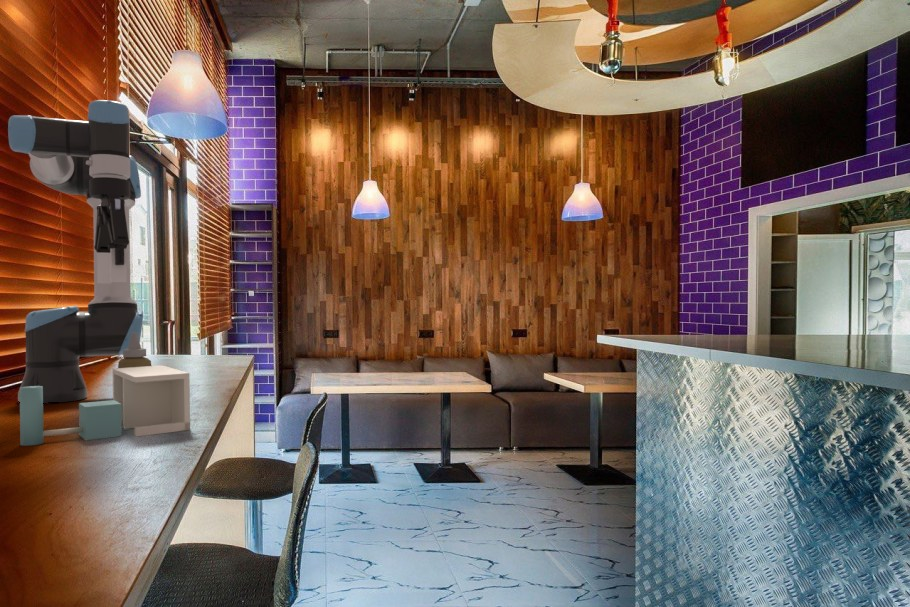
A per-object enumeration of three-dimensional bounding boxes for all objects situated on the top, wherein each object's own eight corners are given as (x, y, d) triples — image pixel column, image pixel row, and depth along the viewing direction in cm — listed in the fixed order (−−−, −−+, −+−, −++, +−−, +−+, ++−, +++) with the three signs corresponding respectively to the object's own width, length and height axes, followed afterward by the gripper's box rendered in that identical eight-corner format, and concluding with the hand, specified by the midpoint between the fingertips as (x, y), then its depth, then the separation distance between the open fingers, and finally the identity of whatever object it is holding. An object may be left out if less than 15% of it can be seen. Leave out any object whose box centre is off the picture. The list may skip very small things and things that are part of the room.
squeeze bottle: (106, 416, 151) (105, 333, 151) (139, 410, 158) (138, 331, 158) (131, 418, 147) (130, 334, 147) (163, 413, 154) (162, 332, 154)
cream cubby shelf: (113, 421, 144) (112, 368, 144) (162, 416, 150) (162, 365, 150) (135, 436, 129) (135, 377, 128) (190, 429, 134) (189, 373, 134)
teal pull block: (18, 442, 124) (17, 386, 124) (114, 431, 134) (113, 379, 134) (22, 447, 120) (21, 389, 119) (121, 435, 129) (121, 382, 129)
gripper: (78, 185, 149) (80, 283, 150) (101, 167, 130) (103, 281, 130) (116, 188, 154) (117, 283, 154) (144, 171, 134) (146, 281, 134)
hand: (111, 283), depth 142 cm, fingers open, 13 cm apart
